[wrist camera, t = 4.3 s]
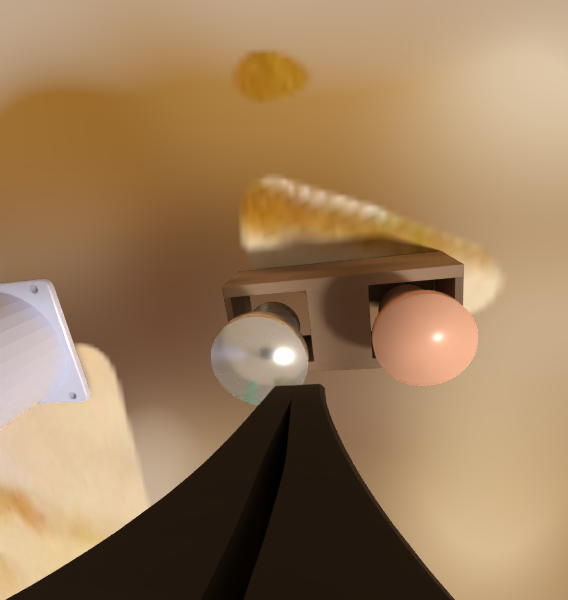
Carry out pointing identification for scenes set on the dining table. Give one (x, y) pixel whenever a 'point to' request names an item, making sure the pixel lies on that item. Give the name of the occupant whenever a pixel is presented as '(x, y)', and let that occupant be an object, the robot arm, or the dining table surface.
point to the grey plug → (260, 352)
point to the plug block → (343, 299)
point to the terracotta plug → (423, 336)
